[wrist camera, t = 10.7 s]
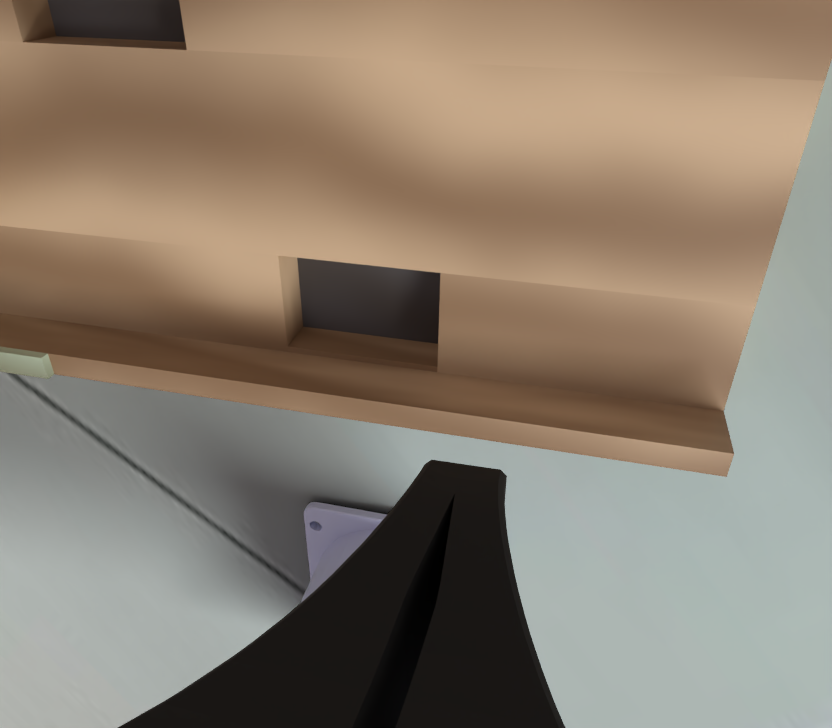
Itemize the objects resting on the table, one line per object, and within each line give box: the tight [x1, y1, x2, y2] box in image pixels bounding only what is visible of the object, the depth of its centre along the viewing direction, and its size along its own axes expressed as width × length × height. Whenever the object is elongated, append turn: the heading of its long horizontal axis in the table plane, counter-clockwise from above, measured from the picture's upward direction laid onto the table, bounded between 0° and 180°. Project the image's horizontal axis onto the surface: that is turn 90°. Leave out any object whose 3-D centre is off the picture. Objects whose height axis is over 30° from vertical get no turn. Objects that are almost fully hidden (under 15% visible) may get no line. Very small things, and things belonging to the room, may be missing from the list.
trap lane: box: [0, 0, 832, 477], centre depth 19 cm, size 14×29×4 cm, turn 89°
